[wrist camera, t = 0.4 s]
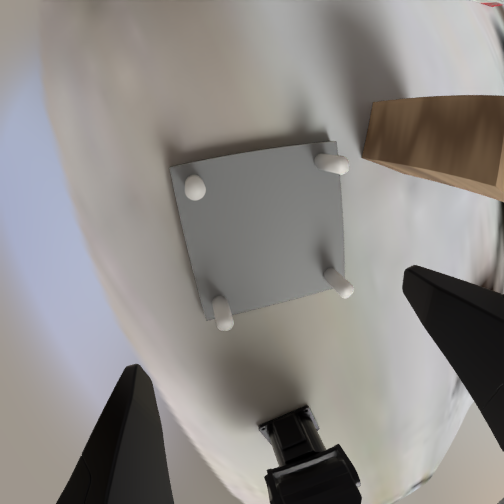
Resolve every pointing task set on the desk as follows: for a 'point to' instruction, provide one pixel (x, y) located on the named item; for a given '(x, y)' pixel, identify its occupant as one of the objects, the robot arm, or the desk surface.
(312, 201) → the peg plate
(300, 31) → the desk surface
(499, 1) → the ink box
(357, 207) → the desk surface
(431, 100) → the walnut block
